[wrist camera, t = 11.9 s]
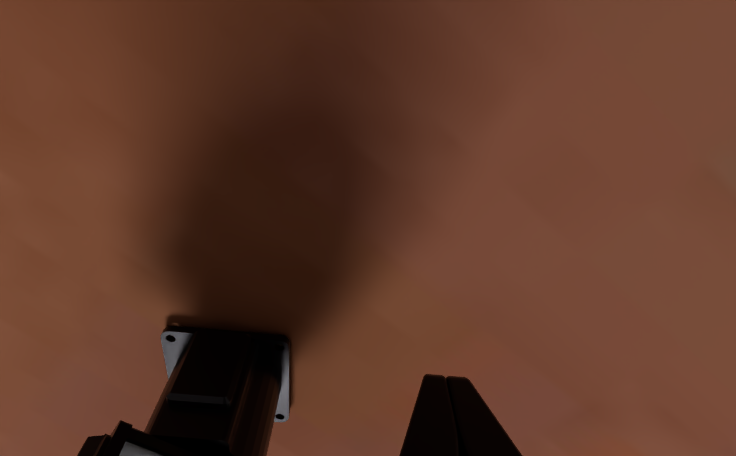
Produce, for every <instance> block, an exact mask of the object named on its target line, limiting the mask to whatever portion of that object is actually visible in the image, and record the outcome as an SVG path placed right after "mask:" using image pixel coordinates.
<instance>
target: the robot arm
mask: <svg viewBox="0 0 736 456" xmlns="http://www.w3.org/2000/svg"><path fill="white" fill-rule="evenodd" d="M171 335H172V336H171ZM173 336H174V337H173ZM161 342H162V348H163V353H164V358H165V364H166V369H167V374H168V382H167V384H166V386H165V388H164V390H163V392H162V394H161V397H160V399H159V401H158V403H157V405H156V407H155V409H154V411H153V414H152V416H151V418H150V420H149V422H148V424H147V426H146V428H145V431H144V432H142V431H140V430H137V429H135V428H132V426H133V425H131V424H129V423H126V422H124V421H121V420H120V422H119V423H118V425H117V426H116V427H115V429H114V430H113V432H112V433H111V435H107V434H105V435H102V436H92V437H88V438H87V440H86V441H85V443H84V444H83V446H82V448H81V450H80V451H79V453H78V455H77V456H266V455H267V451H268V446H269V441H270V437H271V432H272V428H273V423H274V422H285V421H287V420H288V418H289V413H290V340H289V339H288V338H287V337H286V336H283V335H276V334H264V333H252V332H240V331H228V330H216V329H204V328H192V327H180V326H168V327H166V328H165V329H164V330H163V332H162V334H161ZM278 344H281V345H278ZM400 456H522V455H521V453H520V452H519V450H518V449H517V447H516V446H515V445H514V443H513V442H512V440H511V439H510V437H509V436H508V435H507V433H506V432H505V430H504V429H503V427H502V426H501V425H500V423H499V422H498V420H497V419H496V417H495V416H494V414H493V413H492V412H491V410H490V409H489V407H488V406H487V404H486V403H485V402H484V400H483V399H482V397H481V396H480V394H479V393H478V392H477V390H476V389H475V387H474V386H473V384H472V383H471V382H470V380H469V379H467V378H465V377H456V376H448V377H446V378H445V377H444V376H442V375H432V374H426V375H425V376H424V377H423V380H422V384H421V387H420V390H419V393H418V397H417V400H416V403H415V407H414V410H413V413H412V416H411V420H410V423H409V426H408V429H407V433H406V436H405V439H404V443H403V446H402V449H401V452H400Z"/></svg>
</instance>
